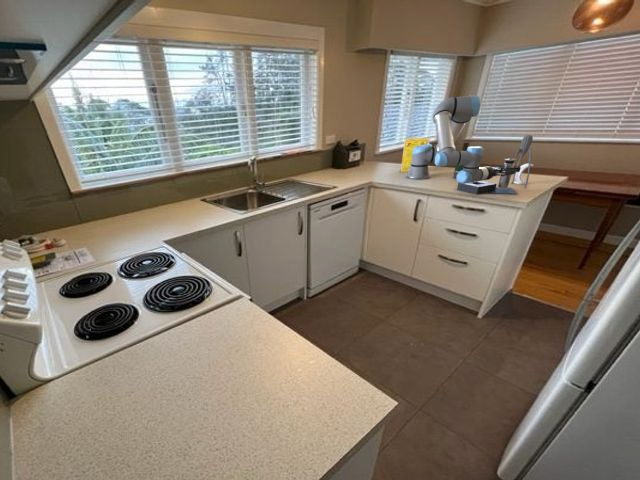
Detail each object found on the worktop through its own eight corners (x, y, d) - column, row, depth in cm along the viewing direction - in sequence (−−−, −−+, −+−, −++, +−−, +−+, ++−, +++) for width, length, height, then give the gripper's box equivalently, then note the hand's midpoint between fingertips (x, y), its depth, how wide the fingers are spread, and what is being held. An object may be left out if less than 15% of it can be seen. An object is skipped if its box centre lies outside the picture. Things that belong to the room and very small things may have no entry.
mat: (487, 188, 187) (487, 187, 187) (511, 188, 182) (511, 187, 182) (491, 193, 176) (491, 192, 176) (516, 194, 171) (517, 193, 171)
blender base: (474, 186, 192) (475, 179, 190) (494, 191, 180) (496, 183, 178) (456, 189, 190) (458, 182, 188) (476, 194, 177) (478, 187, 176)
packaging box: (404, 168, 262) (408, 137, 251) (425, 168, 253) (430, 137, 242) (400, 171, 250) (404, 140, 239) (422, 172, 241) (427, 139, 230)
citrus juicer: (526, 187, 182) (543, 135, 169) (509, 188, 182) (524, 136, 169) (512, 183, 192) (527, 133, 179) (496, 184, 192) (510, 135, 179)
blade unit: (495, 185, 182) (502, 157, 175) (508, 185, 179) (516, 156, 172) (497, 187, 177) (505, 158, 170) (510, 188, 174) (519, 158, 167)
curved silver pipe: (527, 184, 188) (533, 164, 183) (516, 184, 189) (522, 165, 184) (523, 182, 192) (528, 163, 187) (512, 182, 193) (518, 163, 188)
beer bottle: (454, 178, 214) (462, 143, 204) (451, 176, 221) (458, 142, 210) (467, 178, 212) (475, 143, 202) (463, 176, 219) (470, 141, 208)
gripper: (467, 177, 179) (497, 172, 184) (496, 183, 164) (528, 177, 168) (470, 165, 176) (501, 160, 181) (500, 169, 160) (533, 164, 165)
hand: (514, 168), depth 175 cm, fingers closed on blade unit, 5 cm apart
